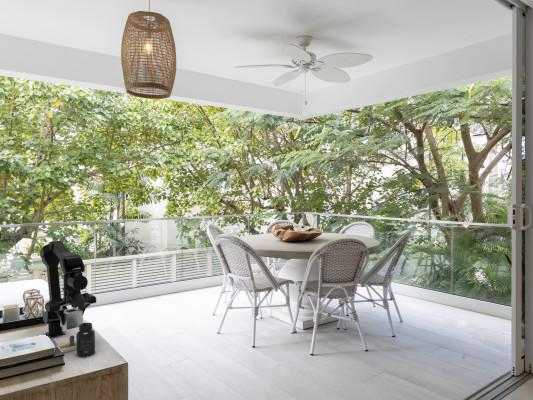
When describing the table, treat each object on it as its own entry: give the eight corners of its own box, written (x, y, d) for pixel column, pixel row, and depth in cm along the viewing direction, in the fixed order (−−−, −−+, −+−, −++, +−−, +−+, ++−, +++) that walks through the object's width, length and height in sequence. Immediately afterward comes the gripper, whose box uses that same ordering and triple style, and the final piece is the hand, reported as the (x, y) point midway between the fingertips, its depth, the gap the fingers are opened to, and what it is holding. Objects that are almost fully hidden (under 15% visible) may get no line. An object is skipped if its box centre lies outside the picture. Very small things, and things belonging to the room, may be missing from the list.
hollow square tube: (60, 326, 174) (60, 310, 174) (76, 322, 178) (76, 307, 178) (66, 329, 169) (66, 314, 169) (82, 326, 174) (82, 310, 174)
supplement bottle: (77, 352, 169) (76, 322, 169) (95, 349, 172) (95, 320, 171) (75, 358, 163) (75, 328, 163) (95, 356, 165) (94, 325, 165)
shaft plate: (56, 348, 173) (55, 336, 173) (80, 341, 180) (80, 330, 180) (62, 353, 168) (62, 341, 168) (87, 346, 175) (87, 334, 175)
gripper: (54, 293, 161) (55, 334, 162) (102, 285, 175) (102, 322, 175) (44, 288, 169) (44, 326, 169) (90, 280, 182) (90, 316, 183)
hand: (71, 323), depth 174 cm, fingers closed on hollow square tube, 6 cm apart
